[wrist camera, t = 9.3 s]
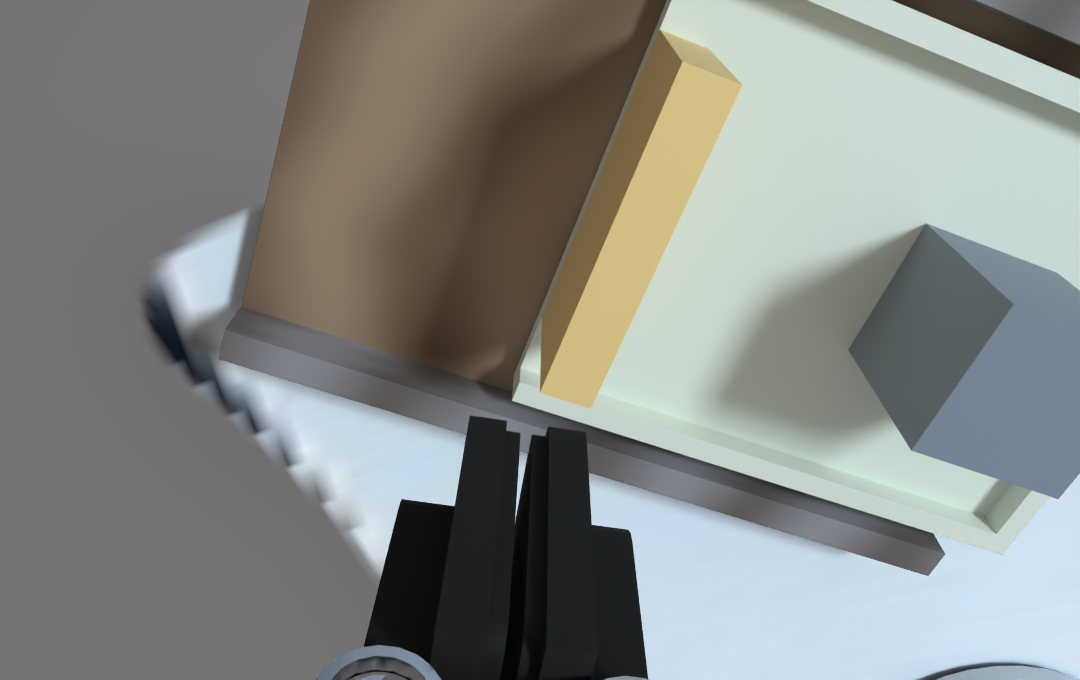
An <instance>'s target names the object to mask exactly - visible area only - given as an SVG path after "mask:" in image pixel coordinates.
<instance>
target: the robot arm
mask: <svg viewBox="0 0 1080 680" xmlns="http://www.w3.org/2000/svg"><path fill="white" fill-rule="evenodd" d="M506 428H507V421H506V420H499V419H492V418H485V417H478V416H471V415H470V417H469V423H468V429H467V435H466V441H465V447H464V453H463V460H462V466H461V472H460V478H459V484H458V490H457V496H456V503H455V506H448V505H440V504H433V503H426V502H418V501H411V500H403V499H402V500H401V502H400V505H399V509H398V513H397V517H396V521H395V525H394V529H393V533H392V537H391V541H390V544H389V548H388V552H387V556H386V560H385V564H384V568H383V572H382V576H381V580H380V584H379V588H378V592H377V596H376V600H375V604H374V608H373V612H372V616H371V620H370V624H369V628H368V632H367V636H366V640H365V644H364V647H360V648H357V649H355V650H352V651H349V652H347V653H344V654H342V655H340V656H339V657H337V658H336V659H335V660H333V661H332V662H331V663H329V664H328V665H327V666H326V667H324V669H323V670H322V671H321V673H320V674H319V676H318V677H317V678H316V680H648V674H647V666H646V657H645V648H644V640H643V631H642V622H641V614H640V605H639V596H638V588H637V579H636V570H635V562H634V553H633V544H632V538H631V533H630V532H629V530H625V529H618V528H610V527H603V526H595V525H591V507H590V489H589V471H588V452H587V436H586V432H584V431H577V430H570V429H563V428H556V427H549V426H548V428H547V431H546V436H540V435H533V434H532V436H531V441H530V446H529V451H528V457H527V462H526V467H525V473H524V478H523V484H522V489H521V494H520V500H519V505H518V510H517V516H516V521H515V512H516V497H517V481H518V466H519V450H520V433H519V432H512V431H506ZM935 680H1077V679H1075V678H1073V677H1071V676H1069V675H1066V674H1063V673H1059V672H1056V671H1053V670H1049V669H1044V668H1036V667H1028V666H991V667H983V668H976V669H969V670H965V671H961V672H958V673H954V674H950V675H946V676H943V677H940V678H938V679H935Z"/></svg>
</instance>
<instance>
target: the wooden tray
mask: <svg viewBox="0 0 1080 680" xmlns="http://www.w3.org/2000/svg"><path fill="white" fill-rule="evenodd" d="M926 223H927V224H929V225H932V226H935V227H937V228H940V229H943V230H945V231H948V232H951V233H953V234H956V235H958V236H961V237H964V238H966V239H969V240H972V241H974V242H977V243H980V244H982V245H985V246H988V247H990V248H993V249H996V250H998V251H1001V252H1004V253H1006V254H1009V255H1011V256H1014V257H1017V258H1019V259H1022V260H1025V261H1027V262H1030V263H1033V264H1035V265H1038V266H1041V267H1043V268H1046V269H1049V270H1051V271H1054V272H1057V273H1058V274H1059V275H1061V276H1062V277H1063V278H1064V279H1066V280H1067V281H1068V282H1070V283H1071V284H1072V285H1073V286H1075V287H1076V288H1077V289H1078V290H1080V79H1078V78H1076V77H1073V76H1071V75H1068V74H1066V73H1064V72H1061V71H1059V70H1057V69H1054V68H1052V67H1049V66H1047V65H1045V64H1042V63H1040V62H1038V61H1035V60H1033V59H1030V58H1028V57H1026V56H1023V55H1021V54H1018V53H1016V52H1014V51H1011V50H1009V49H1007V48H1004V47H1002V46H999V45H997V44H995V43H992V42H990V41H988V40H985V39H983V38H980V37H978V36H976V35H973V34H971V33H968V32H966V31H964V30H961V29H959V28H957V27H954V26H952V25H949V24H947V23H945V22H942V21H940V20H937V19H935V18H933V17H930V16H928V15H926V14H923V13H921V12H918V11H916V10H914V9H911V8H909V7H907V6H904V5H902V4H899V3H897V2H895V1H892V0H667V1H666V4H665V6H664V9H663V11H662V13H661V16H660V18H659V21H658V23H657V26H656V28H655V31H654V33H653V36H652V38H651V40H650V43H649V45H648V48H647V50H646V53H645V55H644V58H643V60H642V62H641V65H640V67H639V70H638V72H637V75H636V77H635V80H634V82H633V84H632V87H631V89H630V92H629V94H628V97H627V99H626V102H625V104H624V106H623V109H622V111H621V114H620V116H619V119H618V121H617V124H616V126H615V129H614V131H613V133H612V136H611V138H610V141H609V143H608V146H607V148H606V151H605V153H604V155H603V158H602V160H601V163H600V165H599V168H598V170H597V173H596V175H595V177H594V180H593V182H592V185H591V187H590V190H589V192H588V195H587V197H586V199H585V202H584V204H583V207H582V209H581V212H580V214H579V217H578V219H577V222H576V224H575V226H574V229H573V231H572V234H571V236H570V239H569V241H568V244H567V246H566V248H565V251H564V253H563V256H562V258H561V261H560V263H559V266H558V268H557V270H556V273H555V275H554V278H553V280H552V283H551V285H550V288H549V290H548V293H547V295H546V297H545V300H544V302H543V305H542V307H541V310H540V312H539V315H538V317H537V319H536V322H535V324H534V327H533V329H532V332H531V334H530V337H529V339H528V341H527V344H526V346H525V349H524V351H523V354H522V356H521V359H520V361H519V363H518V366H517V368H516V371H515V373H514V381H513V394H512V401H514V402H518V403H521V404H524V405H527V406H530V407H533V408H537V409H540V410H543V411H546V412H549V413H552V414H556V415H559V416H562V417H565V418H568V419H572V420H575V421H578V422H581V423H584V424H587V425H591V426H594V427H597V428H600V429H603V430H606V431H610V432H613V433H616V434H619V435H622V436H626V437H629V438H632V439H635V440H638V441H641V442H645V443H648V444H651V445H654V446H657V447H660V448H664V449H667V450H670V451H673V452H676V453H680V454H683V455H686V456H689V457H692V458H695V459H699V460H702V461H705V462H708V463H711V464H714V465H718V466H721V467H724V468H727V469H730V470H734V471H737V472H740V473H743V474H746V475H749V476H753V477H756V478H759V479H762V480H765V481H769V482H772V483H775V484H778V485H781V486H784V487H788V488H791V489H794V490H797V491H800V492H803V493H807V494H810V495H813V496H816V497H819V498H823V499H826V500H829V501H832V502H835V503H838V504H842V505H845V506H848V507H851V508H854V509H857V510H861V511H864V512H867V513H870V514H873V515H877V516H880V517H883V518H886V519H889V520H892V521H896V522H899V523H902V524H905V525H908V526H911V527H915V528H918V529H921V530H924V531H927V532H931V533H934V534H937V535H940V536H943V537H946V538H950V539H953V540H956V541H959V542H962V543H966V544H969V545H972V546H975V547H978V548H981V549H985V550H988V551H991V552H994V553H997V554H1000V555H1003V553H1004V552H1005V551H1006V550H1007V549H1008V547H1009V546H1010V545H1011V544H1012V543H1013V541H1014V540H1015V539H1016V538H1017V536H1018V535H1019V534H1020V533H1021V532H1022V530H1023V529H1024V528H1025V527H1026V525H1027V524H1028V523H1029V522H1030V521H1031V519H1032V518H1033V517H1034V516H1035V515H1036V513H1037V512H1038V511H1039V510H1040V508H1041V507H1042V506H1043V505H1044V504H1045V502H1046V501H1047V500H1048V499H1049V497H1050V496H1047V495H1044V494H1041V493H1038V492H1035V491H1032V490H1029V489H1026V488H1023V487H1020V486H1017V485H1014V484H1011V483H1008V482H1005V481H1002V480H999V479H996V478H993V477H990V476H987V475H984V474H981V473H978V472H975V471H971V470H968V469H965V468H962V467H959V466H956V465H953V464H950V463H947V462H944V461H941V460H938V459H935V458H932V457H929V456H926V455H923V454H920V453H917V452H914V451H911V449H910V448H909V446H908V445H907V443H906V441H905V440H904V438H903V437H902V435H901V433H900V432H899V430H898V429H897V427H896V425H895V424H894V422H893V421H892V419H891V417H890V416H889V414H888V413H887V411H886V409H885V408H884V406H883V405H882V403H881V401H880V400H879V398H878V397H877V395H876V394H875V392H874V390H873V389H872V387H871V386H870V384H869V382H868V381H867V379H866V378H865V376H864V374H863V373H862V371H861V370H860V368H859V366H858V365H857V363H856V362H855V360H854V358H853V357H852V355H851V354H850V352H849V350H848V349H849V348H850V346H851V345H852V343H853V341H854V340H855V338H856V336H857V335H858V333H859V332H860V330H861V328H862V327H863V325H864V323H865V322H866V320H867V319H868V317H869V315H870V314H871V312H872V310H873V309H874V307H875V306H876V304H877V302H878V301H879V299H880V297H881V296H882V294H883V293H884V291H885V289H886V288H887V286H888V284H889V283H890V281H891V280H892V278H893V276H894V275H895V273H896V271H897V270H898V268H899V266H900V265H901V263H902V262H903V260H904V258H905V257H906V255H907V253H908V252H909V250H910V249H911V247H912V245H913V244H914V242H915V240H916V239H917V237H918V236H919V234H920V232H921V231H922V229H923V227H924V226H925V224H926Z"/></svg>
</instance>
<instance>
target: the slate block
mask: <svg viewBox="0 0 1080 680" xmlns="http://www.w3.org/2000/svg"><path fill="white" fill-rule="evenodd" d="M848 350H849V352H850V354H851V355H852V357H853V358H854V360H855V362H856V363H857V365H858V366H859V368H860V370H861V371H862V373H863V374H864V376H865V378H866V379H867V381H868V382H869V384H870V386H871V387H872V389H873V390H874V392H875V394H876V395H877V397H878V398H879V400H880V401H881V403H882V405H883V406H884V408H885V409H886V411H887V413H888V414H889V416H890V417H891V419H892V421H893V422H894V424H895V425H896V427H897V429H898V430H899V432H900V433H901V435H902V437H903V438H904V440H905V441H906V443H907V445H908V446H909V448H910V449H911V451H914V452H917V453H920V454H923V455H926V456H929V457H932V458H935V459H938V460H941V461H944V462H947V463H950V464H953V465H956V466H959V467H962V468H965V469H968V470H971V471H975V472H978V473H981V474H984V475H987V476H990V477H993V478H996V479H999V480H1002V481H1005V482H1008V483H1011V484H1014V485H1017V486H1020V487H1023V488H1026V489H1029V490H1032V491H1035V492H1038V493H1041V494H1044V495H1047V496H1050V497H1053V498H1056V499H1059V498H1060V496H1061V495H1062V494H1063V493H1064V492H1065V490H1066V489H1067V488H1068V487H1069V485H1070V484H1071V483H1072V482H1073V481H1074V479H1075V478H1076V477H1077V476H1078V475H1079V473H1080V290H1078V289H1077V288H1076V287H1075V286H1073V285H1072V284H1071V283H1070V282H1068V281H1067V280H1066V279H1064V278H1063V277H1062V276H1061V275H1059V274H1058V273H1057V272H1054V271H1051V270H1049V269H1046V268H1043V267H1041V266H1038V265H1035V264H1033V263H1030V262H1027V261H1025V260H1022V259H1019V258H1017V257H1014V256H1011V255H1009V254H1006V253H1004V252H1001V251H998V250H996V249H993V248H990V247H988V246H985V245H982V244H980V243H977V242H974V241H972V240H969V239H966V238H964V237H961V236H958V235H956V234H953V233H951V232H948V231H945V230H943V229H940V228H937V227H935V226H932V225H929V224H927V223H926V224H925V226H924V227H923V229H922V231H921V232H920V234H919V236H918V237H917V239H916V240H915V242H914V244H913V245H912V247H911V249H910V250H909V252H908V253H907V255H906V257H905V258H904V260H903V262H902V263H901V265H900V266H899V268H898V270H897V271H896V273H895V275H894V276H893V278H892V280H891V281H890V283H889V284H888V286H887V288H886V289H885V291H884V293H883V294H882V296H881V297H880V299H879V301H878V302H877V304H876V306H875V307H874V309H873V310H872V312H871V314H870V315H869V317H868V319H867V320H866V322H865V323H864V325H863V327H862V328H861V330H860V332H859V333H858V335H857V336H856V338H855V340H854V341H853V343H852V345H851V346H850V348H849V349H848Z"/></svg>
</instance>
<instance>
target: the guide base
mask: <svg viewBox="0 0 1080 680" xmlns="http://www.w3.org/2000/svg"><path fill="white" fill-rule="evenodd" d="M666 1H667V0H310V3H309V8H308V12H307V17H306V21H305V26H304V30H303V35H302V40H301V44H300V48H299V53H298V57H297V62H296V66H295V71H294V75H293V80H292V84H291V89H290V93H289V98H288V102H287V107H286V111H285V116H284V120H283V124H282V129H281V134H280V138H279V143H278V147H277V151H276V156H275V160H274V166H273V170H272V174H271V178H270V183H269V187H268V192H267V196H266V201H265V205H264V210H263V214H262V219H261V223H260V228H259V232H258V237H257V241H256V246H255V250H254V255H253V259H252V264H251V268H250V273H249V277H248V282H247V286H246V291H245V295H244V300H243V304H242V307H241V309H240V310H239V311H238V313H237V314H236V316H235V317H234V318H233V320H232V321H231V322H230V324H229V325H228V327H227V328H226V329H225V332H224V337H223V342H222V346H221V351H220V356H219V359H220V360H223V361H227V362H230V363H233V364H236V365H240V366H243V367H246V368H250V369H253V370H256V371H259V372H263V373H266V374H269V375H272V376H276V377H279V378H282V379H286V380H289V381H292V382H295V383H299V384H302V385H305V386H308V387H312V388H315V389H318V390H322V391H325V392H328V393H331V394H335V395H338V396H341V397H344V398H348V399H351V400H354V401H357V402H361V403H364V404H367V405H371V406H374V407H377V408H380V409H384V410H387V411H390V412H393V413H397V414H400V415H403V416H407V417H410V418H413V419H416V420H420V421H423V422H426V423H429V424H433V425H436V426H439V427H443V428H446V429H449V430H452V431H456V432H459V433H462V434H465V435H467V429H468V423H469V417H470V415H471V416H478V417H485V418H492V419H499V420H506V421H507V428H506V431H512V432H519V433H520V450H519V451H521V452H524V453H528V451H529V446H530V441H531V436H532V434H533V435H540V436H546V431H547V428H548V426H549V427H556V428H563V429H570V430H577V431H584V432H586V436H587V452H588V471H589V472H590V473H593V474H596V475H600V476H603V477H606V478H609V479H613V480H616V481H619V482H622V483H626V484H629V485H632V486H636V487H639V488H642V489H645V490H649V491H652V492H655V493H658V494H662V495H665V496H668V497H672V498H675V499H678V500H681V501H685V502H688V503H691V504H694V505H698V506H701V507H704V508H707V509H711V510H714V511H717V512H721V513H724V514H727V515H730V516H734V517H737V518H740V519H743V520H747V521H750V522H753V523H757V524H760V525H763V526H766V527H770V528H773V529H776V530H779V531H783V532H786V533H789V534H793V535H796V536H799V537H802V538H806V539H809V540H812V541H815V542H819V543H822V544H825V545H829V546H832V547H835V548H838V549H842V550H845V551H848V552H851V553H855V554H858V555H861V556H864V557H868V558H871V559H874V560H878V561H881V562H884V563H887V564H891V565H894V566H897V567H900V568H904V569H907V570H910V571H914V572H917V573H920V574H923V575H927V576H929V574H930V573H931V572H932V570H933V569H934V568H935V567H936V565H937V564H938V563H939V561H940V560H941V559H942V558H943V556H944V555H945V553H944V551H943V550H942V548H941V546H940V545H939V543H938V541H937V539H936V538H935V536H934V534H933V533H931V532H927V531H924V530H921V529H918V528H915V527H911V526H908V525H905V524H902V523H899V522H896V521H892V520H889V519H886V518H883V517H880V516H877V515H873V514H870V513H867V512H864V511H861V510H857V509H854V508H851V507H848V506H845V505H842V504H838V503H835V502H832V501H829V500H826V499H823V498H819V497H816V496H813V495H810V494H807V493H803V492H800V491H797V490H794V489H791V488H788V487H784V486H781V485H778V484H775V483H772V482H769V481H765V480H762V479H759V478H756V477H753V476H749V475H746V474H743V473H740V472H737V471H734V470H730V469H727V468H724V467H721V466H718V465H714V464H711V463H708V462H705V461H702V460H699V459H695V458H692V457H689V456H686V455H683V454H680V453H676V452H673V451H670V450H667V449H664V448H660V447H657V446H654V445H651V444H648V443H645V442H641V441H638V440H635V439H632V438H629V437H626V436H622V435H619V434H616V433H613V432H610V431H606V430H603V429H600V428H597V427H594V426H591V425H587V424H584V423H581V422H578V421H575V420H572V419H568V418H565V417H562V416H559V415H556V414H552V413H549V412H546V411H543V410H540V409H537V408H533V407H530V406H527V405H524V404H521V403H518V402H514V401H512V394H513V381H514V373H515V371H516V368H517V366H518V363H519V361H520V359H521V356H522V354H523V351H524V349H525V346H526V344H527V341H528V339H529V337H530V334H531V332H532V329H533V327H534V324H535V322H536V319H537V317H538V315H539V312H540V310H541V307H542V305H543V302H544V300H545V297H546V295H547V293H548V290H549V288H550V285H551V283H552V280H553V278H554V275H555V273H556V270H557V268H558V266H559V263H560V261H561V258H562V256H563V253H564V251H565V248H566V246H567V244H568V241H569V239H570V236H571V234H572V231H573V229H574V226H575V224H576V222H577V219H578V217H579V214H580V212H581V209H582V207H583V204H584V202H585V199H586V197H587V195H588V192H589V190H590V187H591V185H592V182H593V180H594V177H595V175H596V173H597V170H598V168H599V165H600V163H601V160H602V158H603V155H604V153H605V151H606V148H607V146H608V143H609V141H610V138H611V136H612V133H613V131H614V129H615V126H616V124H617V121H618V119H619V116H620V114H621V111H622V109H623V106H624V104H625V102H626V99H627V97H628V94H629V92H630V89H631V87H632V84H633V82H634V80H635V77H636V75H637V72H638V70H639V67H640V65H641V62H642V60H643V58H644V55H645V53H646V50H647V48H648V45H649V43H650V40H651V38H652V36H653V33H654V31H655V28H656V26H657V23H658V21H659V18H660V16H661V13H662V11H663V9H664V6H665V4H666ZM892 1H895V2H897V3H899V4H902V5H904V6H907V7H909V8H911V9H914V10H916V11H918V12H921V13H923V14H926V15H928V16H930V17H933V18H935V19H937V20H940V21H942V22H945V23H947V24H949V25H952V26H954V27H957V28H959V29H961V30H964V31H966V32H968V33H971V34H973V35H976V36H978V37H980V38H983V39H985V40H988V41H990V42H992V43H995V44H997V45H999V46H1002V47H1004V48H1007V49H1009V50H1011V51H1014V52H1016V53H1018V54H1021V55H1023V56H1026V57H1028V58H1030V59H1033V60H1035V61H1038V62H1040V63H1042V64H1045V65H1047V66H1049V67H1052V68H1054V69H1057V70H1059V71H1061V72H1064V73H1066V74H1068V75H1071V76H1073V77H1076V78H1078V79H1080V0H892Z"/></svg>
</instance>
